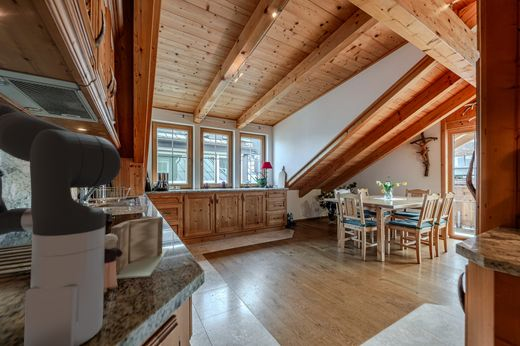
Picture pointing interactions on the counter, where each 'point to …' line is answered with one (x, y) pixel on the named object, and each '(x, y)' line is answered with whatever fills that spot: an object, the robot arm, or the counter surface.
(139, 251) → the fence panel
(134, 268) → the board
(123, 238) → the panel
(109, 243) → the grandmother figurine
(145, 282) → the counter surface
